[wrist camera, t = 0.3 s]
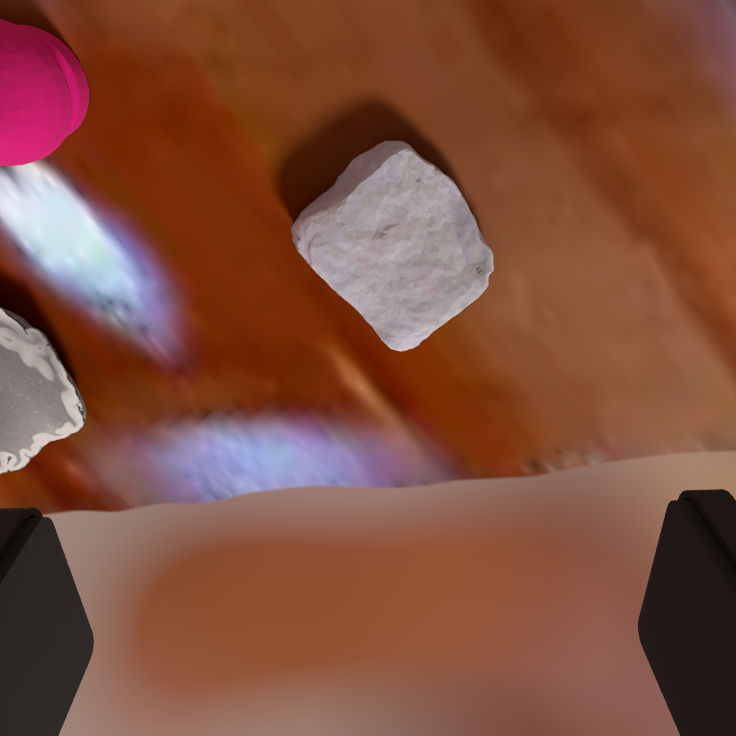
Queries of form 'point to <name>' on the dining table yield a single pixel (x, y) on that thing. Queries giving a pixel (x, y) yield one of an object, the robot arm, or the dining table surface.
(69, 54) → the pepper mill
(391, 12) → the dining table surface
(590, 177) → the dining table surface
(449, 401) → the dining table surface
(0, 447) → the brain slice
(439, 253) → the stone block
